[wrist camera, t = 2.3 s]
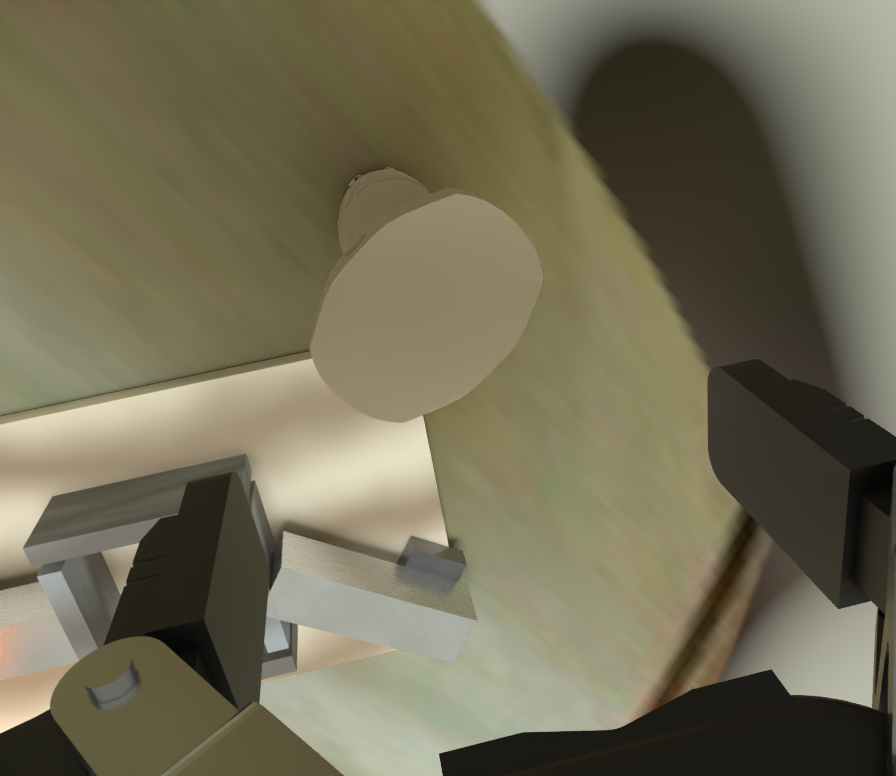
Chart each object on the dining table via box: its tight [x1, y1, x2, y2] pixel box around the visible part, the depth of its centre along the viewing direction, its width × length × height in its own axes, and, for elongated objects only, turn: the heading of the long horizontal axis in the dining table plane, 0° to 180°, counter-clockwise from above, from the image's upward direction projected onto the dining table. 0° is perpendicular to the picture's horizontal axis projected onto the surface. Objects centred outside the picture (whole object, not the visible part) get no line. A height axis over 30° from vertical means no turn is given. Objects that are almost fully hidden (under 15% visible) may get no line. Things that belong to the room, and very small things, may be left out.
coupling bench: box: [0, 351, 449, 733], centre depth 36 cm, size 18×26×5 cm
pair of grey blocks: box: [0, 531, 478, 680], centre depth 37 cm, size 10×26×4 cm, turn 99°
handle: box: [310, 167, 544, 423], centre depth 26 cm, size 5×6×15 cm
